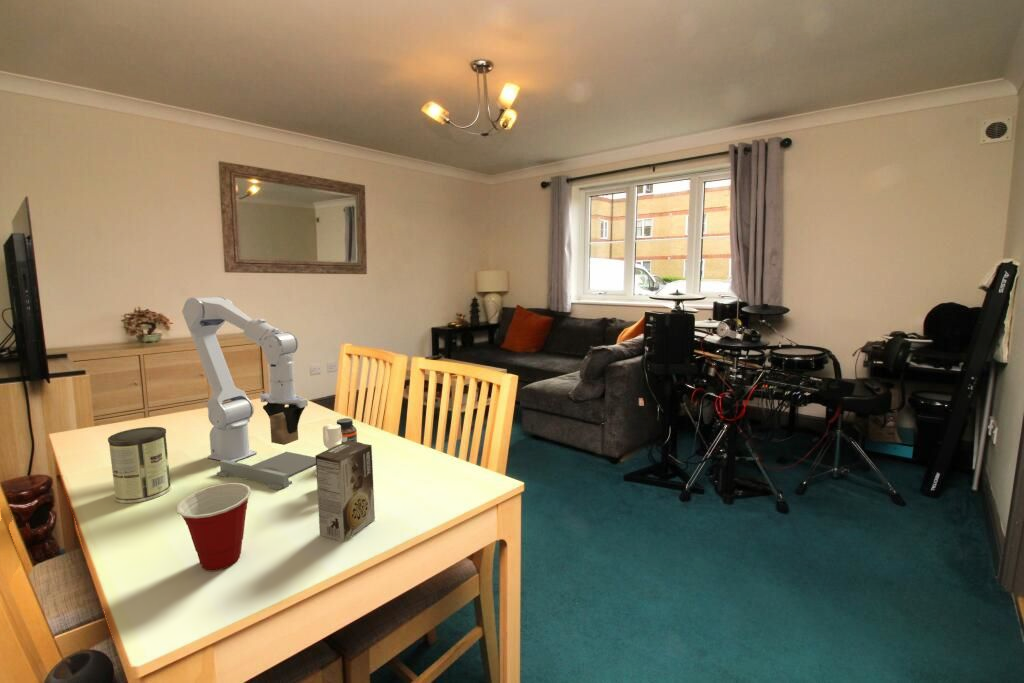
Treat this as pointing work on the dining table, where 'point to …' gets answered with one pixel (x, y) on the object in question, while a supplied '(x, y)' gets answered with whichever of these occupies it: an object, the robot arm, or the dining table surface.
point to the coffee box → (345, 489)
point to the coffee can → (139, 464)
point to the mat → (288, 463)
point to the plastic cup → (216, 523)
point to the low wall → (254, 474)
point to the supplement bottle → (347, 430)
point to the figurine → (331, 436)
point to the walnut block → (281, 430)
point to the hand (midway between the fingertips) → (285, 431)
